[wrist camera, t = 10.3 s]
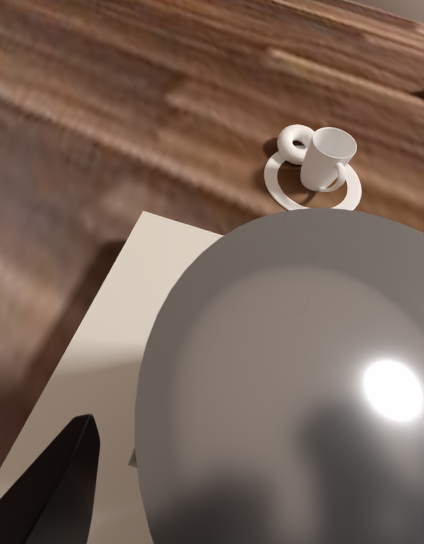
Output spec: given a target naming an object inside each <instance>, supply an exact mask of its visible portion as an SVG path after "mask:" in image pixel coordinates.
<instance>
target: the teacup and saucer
mask: <svg viewBox="0 0 424 544" xmlns="http://www.w3.org/2000/svg"><path fill="white" fill-rule="evenodd" d="M293 140H297V141H300V142H302V143H303V144H304V145H305V146H294V145H293V143H292V141H293ZM277 146H278V150H279V151H278V152H276V153H275V154H274V155H272V156H271V158H270V159H269V160H268V162H267V164H266V166H265V169H264V180H265V184H266V187H267V189H268V191H269V193H270V194H271V195H272V197H273V198H274V199H275V200H276V201H277V202H278V203H279V204H280V205H281V206H283V207H284V208H285V209H287V210H288V211H290V210H296V209H307V207H304V206H301V205H299V204H297V203H295V202H294V201H292V200H291V199H289V198H288V197H287V196H286V195H285V194H284V193H283V191H282V190H281V188H280V186H279V184H278V180H277V173H278V169H279V167H280V166H281V164H282V163H283V162H285V161H286V160H287V161H288V162H290V163H292V164H296V165H302V167H301V172H300V179H301V183H302V184H303V185H304V186H305V187H306V188H307V189H309V190H312V191H320V192H329V191H333V190H335V189H337V188H339V187H340V186H341V185H342V184H343V183H344V181H345V179H346V181H347V185H348V192H347V196H346V198H345V199H344V200H343V202H342V203H340V204H339V205H337V206H335V207H333V209H345V210H352V211H353V210H354V209H355V208H356V206H357V205H358V203H359V201H360V198H361V184H360V181H359V178H358V176H357V175H356V173H355V171H354V170H353V169H352V168H351V166H350V165H349V164H348V162H349V161H350V160H351V158H352V157H353V155H354V154H355V152H356V150H357V145H356V142H355V140H354V139H353V138H352V137H351V136H350V135H349V134H348V133H346V132H344V131H342V130H340V129H337V128H331V127H326V128H321V129H319V130H317V131H316V132H314V131H313V130H312V129H310V128H308V127H306V126H303V125H291V126H288V127H286V128H285V129H283V130H282V132H281V133H280V134H279V136H278V140H277ZM337 177H338V179H337V182H336V183H335V185H334V186H332V187H331V188H326V187H328V186H329V185H330V184H331V183H332V182H333V181H334V180H335V179H336V178H337Z"/></svg>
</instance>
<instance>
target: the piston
mask: <svg viewBox="0 0 424 544" xmlns="http://www.w3.org/2000/svg"><path fill="white" fill-rule="evenodd" d="M135 454H136V462H137V471H138V480H139V488H140V493H141V497H142V501H143V505H144V510H145V514H146V518H147V523H148V527H149V531H150V534H151V537H152V540H153V543H154V544H424V233H422V232H420V231H418V230H415V229H413V228H411V227H409V226H406V225H404V224H401V223H398V222H395V221H392V220H390V219H387V218H383V217H380V216H376V215H372V214H368V213H364V212H358V211H352V210H345V209H333V208H307V209H296V210H290V211H284V212H278V213H275V214H271V215H268V216H265V217H261V218H258V219H256V220H253V221H251V222H249V223H246V224H244V225H242V226H240V227H238V228H236V229H234V230H233V231H231V232H229V233H228V234H226V235H224V236H223V237H221V238H219V239H218V240H217V241H216V242H214V243H213V244H212V245H211V246H209V247H208V248H207V249H206V250H204V251H203V252H202V253H201V254H200V255H199V256H198V257H197V258H196V259H195V260H194V261H193V262H192V263H191V264H190V265H189V267H188V268H187V269H186V270H185V271H184V272H183V274H182V275H181V276H180V278H179V279H178V281H177V282H176V283H175V285H174V286H173V287H172V289H171V290H170V292H169V294H168V296H167V298H166V299H165V301H164V303H163V305H162V307H161V309H160V310H159V312H158V314H157V317H156V319H155V322H154V324H153V327H152V330H151V332H150V335H149V337H148V340H147V343H146V347H145V351H144V355H143V359H142V363H141V367H140V371H139V377H138V386H137V394H136V402H135Z"/></svg>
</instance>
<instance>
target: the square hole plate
mask: <svg viewBox="0 0 424 544" xmlns="http://www.w3.org/2000/svg"><path fill="white" fill-rule="evenodd" d="M221 237H223V236H222V235H219V234H216V233H213V232H209V231H206V230H203V229H200V228H196V227H193V226H190V225H187V224H183V223H180V222H177V221H174V220H170V219H167V218H164V217H161V216H157V215H154V214H151V213H148V212H145V211H143V212H142V214H141V216H140V218H139V220H138V221H137V223H136V225H135V227H134V229H133V230H132V232H131V234H130V236H129V238H128V239H127V241H126V243H125V245H124V247H123V248H122V250H121V252H120V254H119V256H118V257H117V259H116V261H115V263H114V265H113V266H112V268H111V270H110V272H109V274H108V275H107V277H106V279H105V281H104V283H103V284H102V286H101V288H100V290H99V292H98V293H97V295H96V297H95V299H94V301H93V302H92V304H91V306H90V308H89V310H88V311H87V313H86V315H85V317H84V319H83V320H82V322H81V324H80V326H79V328H78V329H77V331H76V333H75V335H74V337H73V338H72V340H71V342H70V344H69V346H68V347H67V349H66V351H65V353H64V355H63V356H62V358H61V360H60V362H59V364H58V365H57V367H56V369H55V371H54V373H53V374H52V376H51V378H50V380H49V382H48V383H47V385H46V387H45V389H44V391H43V392H42V394H41V396H40V398H39V400H38V401H37V403H36V405H35V407H34V409H33V410H32V412H31V414H30V416H29V418H28V419H27V421H26V423H25V425H24V427H23V428H22V430H21V432H20V434H19V436H18V437H17V439H16V441H15V443H14V445H13V446H12V448H11V450H10V452H9V454H8V455H7V457H6V459H5V461H4V462H3V464H2V466H1V468H0V498H1V497H2V496H3V495H4V494H5V493H6V492H7V491H8V489H9V488H10V487H11V486H12V485H13V484H14V483H15V482H16V481H17V479H18V478H19V477H20V476H21V475H22V474H23V473H24V472H25V471H26V470H27V468H28V467H29V466H30V465H31V464H32V463H33V462H34V461H35V460H36V458H37V457H38V456H39V455H40V454H41V453H42V452H43V451H44V450H45V448H46V447H47V446H48V445H49V444H50V443H51V442H52V441H53V440H54V438H55V437H56V436H57V435H58V434H59V433H60V432H61V431H62V430H63V428H64V427H65V426H66V425H67V424H68V423H69V422H70V421H71V420H72V419H73V418H74V417H75V416H79V415H84V414H92V415H93V416H94V419H95V422H96V426H97V429H98V432H99V436H100V453H99V462H98V471H97V480H96V488H95V497H94V506H93V513H92V520H91V526H90V531H89V536H88V541H87V544H154V543H153V540H152V537H151V534H150V531H149V527H148V523H147V518H146V514H145V510H144V505H143V501H142V497H141V493H140V488H139V480H138V471H137V462H136V454H135V402H136V394H137V386H138V377H139V371H140V367H141V363H142V359H143V355H144V351H145V347H146V343H147V340H148V337H149V335H150V332H151V330H152V327H153V324H154V322H155V319H156V317H157V314H158V312H159V310H160V309H161V307H162V305H163V303H164V301H165V299H166V298H167V296H168V294H169V292H170V290H171V289H172V287H173V286H174V285H175V283H176V282H177V281H178V279H179V278H180V276H181V275H182V274H183V272H184V271H185V270H186V269H187V268H188V267H189V265H190V264H191V263H192V262H193V261H194V260H195V259H196V258H197V257H198V256H199V255H200V254H201V253H202V252H203V251H204V250H206V249H207V248H208V247H209V246H211V245H212V244H213V243H214V242H216V241H217V240H218V239H219V238H221Z"/></svg>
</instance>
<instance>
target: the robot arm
mask: <svg viewBox="0 0 424 544" xmlns="http://www.w3.org/2000/svg"><path fill="white" fill-rule="evenodd" d="M99 453H100V436H99V432H98V429H97V426H96V422H95V419H94V416H93V415H92V414H84V415H79V416H75V417H74V418H73V419H72V420H71V421H70V422H69V423H68V424H67V425H66V426H65V427H64V428H63V430H62V431H61V432H60V433H59V434H58V435H57V436H56V437H55V438H54V440H53V441H52V442H51V443H50V444H49V445H48V446H47V447H46V448H45V450H44V451H43V452H42V453H41V454H40V455H39V456H38V457H37V458H36V460H35V461H34V462H33V463H32V464H31V465H30V466H29V467H28V468H27V470H26V471H25V472H24V473H23V474H22V475H21V476H20V477H19V478H18V479H17V481H16V482H15V483H14V484H13V485H12V486H11V487H10V488H9V489H8V491H7V492H6V493H5V494H4V495H3V496H2V497H1V498H0V544H87V541H88V536H89V531H90V526H91V520H92V513H93V506H94V497H95V488H96V480H97V471H98V462H99Z"/></svg>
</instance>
